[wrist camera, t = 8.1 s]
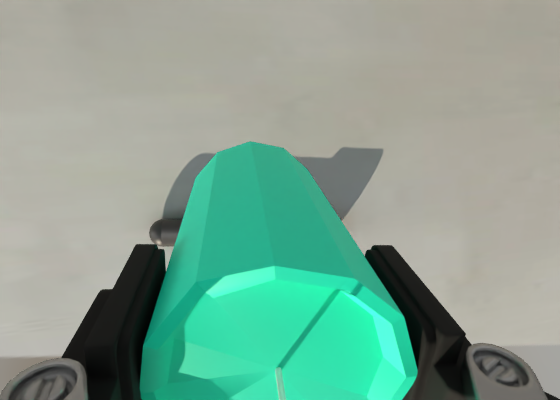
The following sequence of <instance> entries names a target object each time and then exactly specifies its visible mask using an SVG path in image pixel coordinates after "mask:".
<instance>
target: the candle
mask: <svg viewBox="0 0 560 400" xmlns="http://www.w3.org/2000/svg"><path fill="white" fill-rule="evenodd" d="M417 373H418V370H417V366H416V362H415V358H414V354H413V350H412V346H411V342H410V338H409V334H408V330H407V326H406V322H405V318H404V316H403V314H402V313H401V311H400V310H399V308H398V307H397V305H396V304H395V302H394V301H393V299H392V298H391V296H390V295H389V293H388V291H387V290H386V288H385V287H384V285H383V284H382V282H381V281H380V279H379V278H378V276H377V275H376V273H375V272H374V270H373V269H372V267H371V266H370V264H369V263H368V261H367V259H366V258H365V256H364V255H363V253H362V252H361V250H360V249H359V247H358V246H357V244H356V243H355V241H354V240H353V238H352V237H351V235H350V234H349V232H348V231H347V229H346V227H345V226H344V224H343V223H342V221H341V220H340V218H339V217H338V215H337V214H336V212H335V211H334V209H333V208H332V206H331V205H330V203H329V202H328V200H327V198H326V197H325V195H324V194H323V192H322V191H321V189H320V188H319V186H318V185H317V183H316V182H315V180H314V179H313V177H312V176H311V174H310V173H309V171H308V170H307V169H306V168H305V167H304V166H303V165H302V164H301V163H300V162H299V161H298V160H296V159H295V158H294V157H293V156H292V155H291V154H290V153H289V152H287V151H286V150H285V149H284V148H281V147H276V146H271V145H266V144H261V143H256V142H251V141H250V142H247V143H244V144H241V145H238V146H235V147H232V148H229V149H226V150H223V151H220V152H217V154H216V155H215V156H214V157H213V158H212V159H211V160H210V162H209V163H208V164H207V165H206V166H205V167H204V168H203V170H202V171H201V172H200V173H199V174H198V175H197V177H196V178H195V182H194V185H193V188H192V191H191V194H190V198H189V201H188V204H187V207H186V210H185V214H184V217H183V220H182V223H181V226H180V229H179V233H178V236H177V239H176V242H175V245H174V249H173V252H172V255H171V258H170V261H169V265H168V268H167V271H166V274H165V277H164V280H163V284H162V287H161V290H160V293H159V296H158V300H157V303H156V306H155V309H154V312H153V316H152V319H151V322H150V325H149V328H148V332H147V335H146V338H145V341H144V344H143V352H142V364H141V376H140V392H141V399H142V400H402V399H403V398H404V396H405V395H406V394H407V392H408V391H409V389H410V388H411V386H412V385H413V383H414V381H415V379H416V377H417Z"/></svg>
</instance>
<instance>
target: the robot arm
mask: <svg viewBox="0 0 560 400" xmlns="http://www.w3.org/2000/svg"><path fill="white" fill-rule="evenodd" d="M365 258H366V259H367V261H368V263H369V264H370V266H371V267H372V269H373V270H374V272H375V273H376V275H377V276H378V278H379V279H380V281H381V282H382V284H383V285H384V287H385V288H386V290H387V291H388V293H389V295H390V296H391V298H392V299H393V301H394V302H395V304H396V305H397V307H398V308H399V310H400V311H401V313H402V314H403V316H404V318H405V322H406V326H407V330H408V334H409V338H410V342H411V346H412V350H413V354H414V358H415V362H416V366H417V370H418V373H417V377H416V379H415V381H414V383H413V385H412V386H411V388H410V389H409V391H408V392H407V394H406V395H405V396H404V398H403V399H402V400H560V399H558V398H556V397H554V396H552V395H550V394H548V393H546V392H544V391H543V389H542V387H541V385H540V383H539V381H538V379H537V377H536V375H535V373H534V372H533V370H532V369H531V367H530V366H529V365H528V364H527V363H526V362H524V360H522V359H521V358H520V357H518V356H517V355H515V354H514V353H512V352H510V351H508V350H506V349H504V348H502V347H499V346H496V345H493V344H486V343H478V344H473V345H471V343H470V342H469V341H468V340H467V338H466V337H465V335H466V333H465V332H464V331H463V330H462V329H461V327H460V326H459V325H458V324H457V323H456V321H455V320H454V319H453V318H452V317H451V316H450V314H449V313H448V312H447V311H446V310H445V308H444V307H443V306H442V305H441V304H440V302H439V301H438V300H437V299H436V298H435V296H434V295H433V294H432V293H431V292H430V290H429V289H428V288H427V287H426V286H425V284H424V283H423V282H422V281H421V280H420V278H419V277H418V276H417V275H416V274H415V272H414V271H413V270H412V269H411V268H410V266H409V265H408V264H407V263H406V262H405V260H404V259H403V258H402V257H401V256H400V254H399V253H398V252H397V251H396V250H395V248H394V247H393V246H392V245H374V246H372V248H371V250H367V251H366V254H365ZM165 274H166V267H165V252H164V249H158V247H157V244H136V246H135V247H134V249H133V251H132V253H131V255H130V257H129V259H128V261H127V263H126V265H125V267H124V268H123V270H122V272H121V274H120V276H119V278H118V280H117V282H116V284H115V286H114V288H113V289H105V290H101V291H100V292H99V293H98V295H97V297H96V298H95V300H94V302H93V304H92V305H91V307H90V309H89V311H88V312H87V314H86V316H85V318H84V319H83V321H82V323H81V324H80V326H79V328H78V330H77V331H76V333H75V335H74V337H73V338H72V340H71V342H70V344H69V345H68V347H67V349H66V351H65V352H64V354H63V356H62V358H57V359H51V360H46V361H43V362H40V363H38V364H35V365H33V366H31V367H29V368H27V369H25V370H24V371H22V372H20V373H19V374H18V375H17V376H16V377H14V378H13V379H12V380H10V381H9V383H8V384H7V385H6V386H5V388H4V389H3V390H2V392H1V394H0V400H142V399H141V392H140V376H141V364H142V352H143V344H144V341H145V338H146V335H147V332H148V328H149V325H150V322H151V319H152V316H153V312H154V309H155V306H156V303H157V300H158V296H159V293H160V290H161V287H162V284H163V280H164V277H165Z"/></svg>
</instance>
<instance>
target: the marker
mask: <svg viewBox="0 0 560 400" xmlns="http://www.w3.org/2000/svg"><path fill="white" fill-rule="evenodd" d="M181 223H182V219H161V220H158V221H156V222H155V223H154V224H153V225H152V226H151V228H150V232H149V234H150V238H151V240H152V241H153V243H155V244H157V245H158V246H174V245H175V242H176V239H177V236H178V233H179V229H180V226H181Z"/></svg>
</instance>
